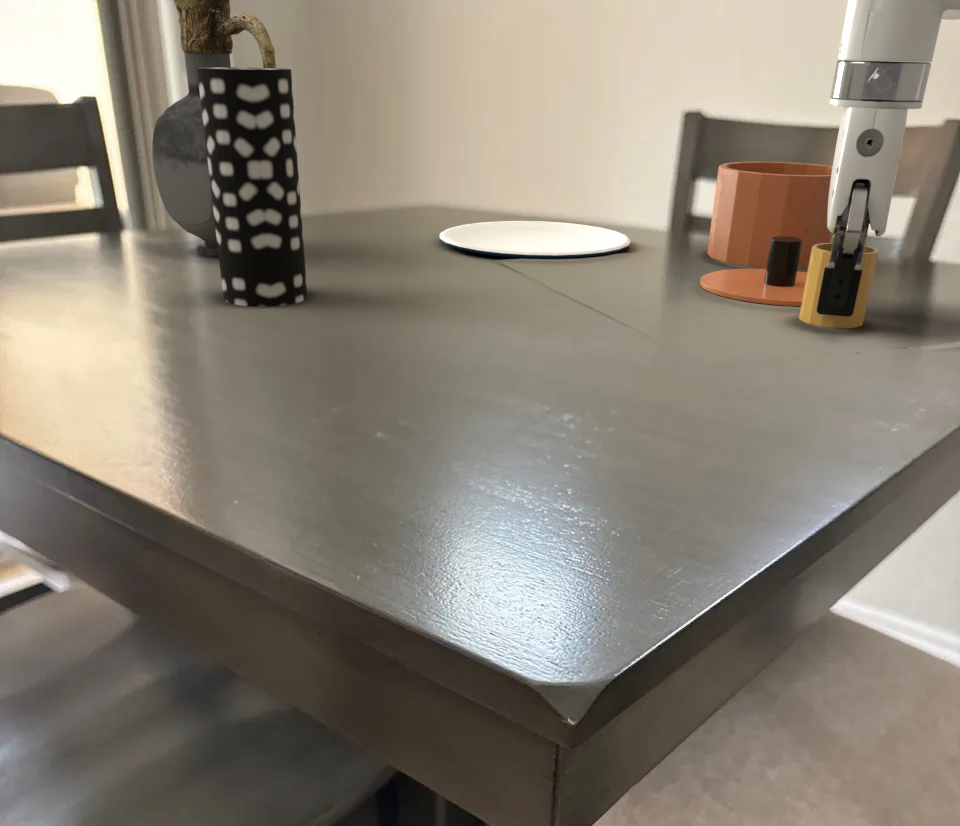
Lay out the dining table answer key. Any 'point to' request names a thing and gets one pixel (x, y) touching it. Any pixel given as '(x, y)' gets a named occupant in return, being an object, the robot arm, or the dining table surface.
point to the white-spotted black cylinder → (254, 183)
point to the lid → (764, 277)
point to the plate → (534, 239)
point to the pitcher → (198, 116)
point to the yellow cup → (813, 286)
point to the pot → (768, 210)
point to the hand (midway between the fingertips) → (834, 304)
